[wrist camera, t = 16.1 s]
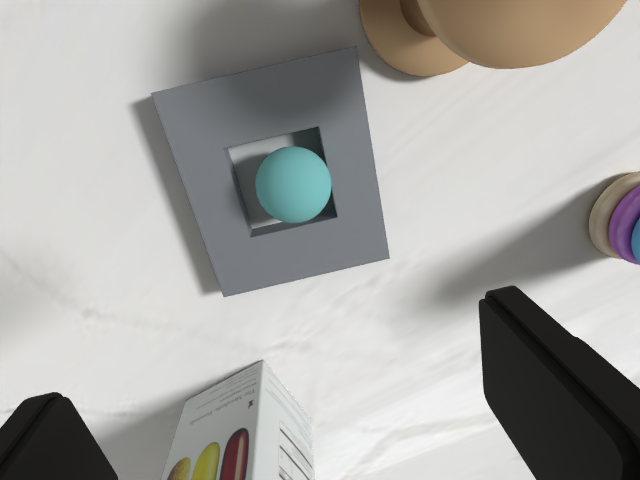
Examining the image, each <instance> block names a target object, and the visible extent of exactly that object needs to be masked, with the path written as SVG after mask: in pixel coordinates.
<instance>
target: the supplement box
mask: <svg viewBox="0 0 640 480" xmlns="http://www.w3.org/2000/svg"><path fill="white" fill-rule="evenodd" d="M161 480H315V473H314V460H313V446H312V433H311V418H310V417H309V415H308V414H307V413H306V412H305V410H304V409H303V408H302V407H301V405H300V404H299V403H298V402H297V400H296V399H295V398H294V397H293V396H292V394H291V393H290V392H289V391H288V389H287V388H286V387H285V386H284V384H283V383H282V382H281V381H280V379H279V378H278V377H277V376H276V374H275V373H274V372H273V371H272V370H271V368H270V367H269V366H268V365H267V363H266V362H265V361H264V360H262V361H260V362H258V363H256V364H254V365H253V366H251V367H249V368H247V369H245V370H243V371H241V372H239V373H238V374H236V375H234V376H232V377H230V378H228V379H226V380H224V381H222V382H221V383H219V384H217V385H215V386H213V387H211V388H209V389H207V390H205V391H203V392H202V393H200V394H198V395H196V396H194V397H192V398H190V399H189V400H187V401H186V402H185V405H184V407H183V410H182V414H181V417H180V420H179V423H178V426H177V429H176V433H175V436H174V439H173V442H172V445H171V448H170V451H169V455H168V458H167V461H166V464H165V467H164V470H163V474H162V477H161Z"/></svg>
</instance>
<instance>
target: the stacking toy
mask: <svg viewBox="0 0 640 480" xmlns="http://www.w3.org/2000/svg"><path fill="white" fill-rule="evenodd" d="M589 234H590V237H591V240H592V242H593V243H594V245H595V246H596V248H597V249H598V250H599V251H601V252H602V253H604V254H606V255H608V256H610V257H613V258H617V259H624V260H626V261H628V262H631V263H634V264H638V265H640V171H638V172H634V173H630V174H628V175H625V176H623V177H621V178H619V179H618V180H616V181H615V182H613V183H612V184H611V185H610V186H608V187H607V188H606V189H605V190H604V191H603V193H602V194H601V195H600V196H599V198H598V199H597V201H596V203H595V204H594V206H593V209H592V211H591V214H590V218H589Z"/></svg>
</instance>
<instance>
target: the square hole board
mask: <svg viewBox="0 0 640 480" xmlns="http://www.w3.org/2000/svg"><path fill="white" fill-rule="evenodd" d="M151 95H152V98H153V101H154V103H155V106H156V109H157V112H158V115H159V117H160V120H161V123H162V126H163V129H164V131H165V134H166V137H167V140H168V143H169V145H170V148H171V151H172V154H173V157H174V159H175V162H176V165H177V168H178V171H179V173H180V176H181V179H182V182H183V185H184V187H185V190H186V193H187V196H188V199H189V201H190V204H191V207H192V210H193V213H194V215H195V218H196V221H197V224H198V227H199V229H200V232H201V235H202V238H203V241H204V244H205V246H206V249H207V252H208V255H209V258H210V260H211V263H212V266H213V269H214V272H215V274H216V277H217V280H218V283H219V286H220V288H221V291H222V294H223V297H227V296H231V295H236V294H240V293H244V292H249V291H253V290H257V289H261V288H266V287H270V286H274V285H278V284H283V283H287V282H291V281H295V280H300V279H304V278H308V277H312V276H317V275H321V274H325V273H330V272H334V271H338V270H342V269H347V268H351V267H355V266H359V265H364V264H368V263H372V262H376V261H381V260H385V259H389V258H390V257H389V251H388V244H387V238H386V232H385V225H384V219H383V213H382V206H381V200H380V194H379V188H378V181H377V175H376V169H375V162H374V156H373V150H372V143H371V137H370V131H369V124H368V118H367V112H366V105H365V99H364V93H363V86H362V80H361V74H360V67H359V61H358V55H357V48H356V46H354V47H349V48H345V49H341V50H336V51H332V52H327V53H323V54H319V55H314V56H310V57H306V58H301V59H297V60H293V61H288V62H284V63H280V64H275V65H271V66H267V67H262V68H258V69H253V70H249V71H245V72H240V73H236V74H232V75H227V76H223V77H219V78H214V79H210V80H206V81H201V82H197V83H193V84H188V85H184V86H180V87H175V88H171V89H166V90H162V91H158V92H153V93H151ZM314 127H317V128H318V133H319V137H320V142H321V147H322V152H323V157H324V161H325V165H326V166H327V168H328V171H329V173H330V177H331V195H332V200H333V205H334V210H332V211H328V212H324V213H319V214H318V215H316V216H315V217H314V218H312V219H310V220H307V221H305V222H301V223H287V222H281V223H277V224H272V225H268V226H264V227H259V228H255V229H252V228H251V224H250V221H249V218H248V214H247V211H246V208H245V204H244V201H243V198H242V194H241V191H240V188H239V184H238V181H237V178H236V174H235V171H234V168H233V164H232V161H231V158H230V154H229V151H228V148H227V147H231V146H236V145H240V144H244V143H249V142H253V141H257V140H262V139H266V138H270V137H275V136H279V135H283V134H288V133H292V132H296V131H301V130H305V129H309V128H314Z"/></svg>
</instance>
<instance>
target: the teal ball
mask: <svg viewBox="0 0 640 480" xmlns="http://www.w3.org/2000/svg"><path fill="white" fill-rule="evenodd" d="M255 189H256V194H257V198H258V200H259V202H260V204H261V205H262V207H263V208H264V210H265V211H266V212H267V213H268V214H270V215H271V216H272V217H274V218H276V219H277V220H280V221H283V222H287V223H301V222H305V221H307V220H310V219H312V218H314V217H315V216H316V215H318V214H319V213H320V212H321V211H322V210H323V208H324V207H325V205H326V204H327V202H328V200H329V197H330V193H331V177H330V173H329V171H328V168H327V166H326V165H325V163H324V162H323V160H322V159H321V158H320V157H319V156H318V155H316V154H315V153H314V152H312V151H310V150H308V149H305V148H302V147H295V146H291V147H284V148H281V149H278V150H276V151H274V152H272V153H271V154H270V155H268V156H267V157H266V158H265V159H264V161H263V162H262V163H261V165H260V167H259V169H258V171H257V174H256V179H255Z"/></svg>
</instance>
